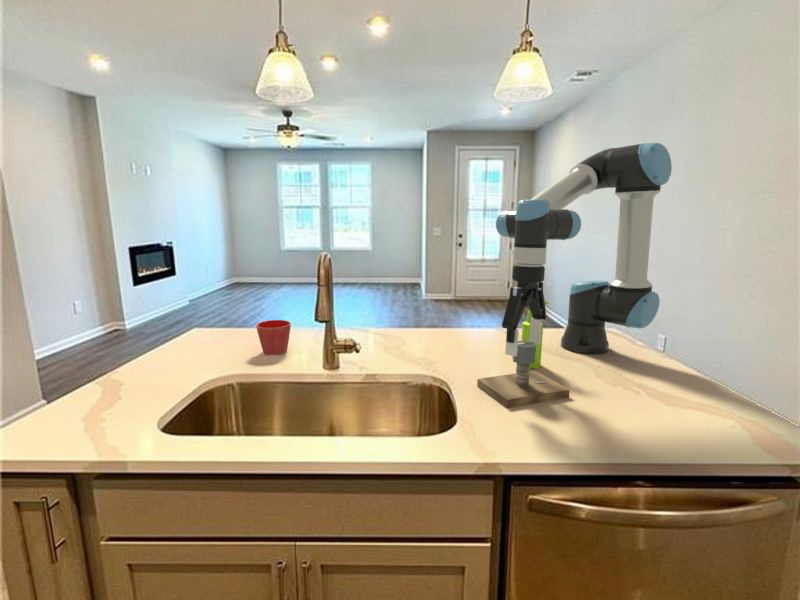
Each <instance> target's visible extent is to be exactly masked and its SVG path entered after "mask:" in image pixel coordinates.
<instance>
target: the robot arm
mask: <svg viewBox="0 0 800 600" xmlns="http://www.w3.org/2000/svg"><path fill="white" fill-rule="evenodd" d="M671 175H672V158H671V154H670V152H669V151H668V149H667V147H666V146H665V145H663V144H662V143H660V142H644V143H639V144H634V145H633V144H632V145H626V146H619V147H612V148H611V147H610V148H607V149H603V150H601V151H598V152H597V153H595V154H592V155H590V156H588V157H587V158H585V159H584V160H582V161H580V162H579V163H577V164H576V165H574V166H573V167H572V168H570V171H569V172H568V174H567V175H565V176H564V177H562V178H560V179H559V180H558V181H556V182H555V183H553V184H552V185H550V186H549V187H547V188H546V189H544V190H543V191H541V192H539V193H538V194H536V195H535V196H533V197H532V198H531V199H522V200H519V201H518V202H517V204H516V208H515V209H513V210H512V209H508V210H503V211H501V212H500V213H499V214H498V215H497V217H496V221H495V228H496V231H497V233H498V234H499V236H501V237H502V238H503V237H504V238H510V239H514V244H513V247H514V248H513V250H512V254H513V263H514V265H513V266H512V273H511V274H512V275H511V278H512V280H513V281H515V282H517V284H516V285H517V286H511V287H510V290H509V297H508V301H507V304H506V308H505V312H504V316H503V318H502V323H501V327H502V328H503V329H506V333H505V334H506V337H505V350H504V351H505V352H504V354H505V355H507V356H512V357H513V356H517V350H518V341H519V329H518V327H519V324H520V322H521V319H522V316H523V313H524V310H525V309H526V308H527V307H528V309H529V310H530V311H531V314H532V317H533V318H531V321H530V336H529V342H533V343H535V344H540V338H541V324H542V323H543V322H542V321H543V320H546V319H547V316H546V315H547V308H546V304H545V301H546V300H545V296H544V281H545V272H546V271H545V270H546V268H545V266H544V265H545V264H546V263H547V262H546V260H547V244H548V243H547V242H548V241H550V240H552V241H556V240H557V241H558V240H561V241H566V240H570V239H573V238H575V237H577V235H578V234H579V232H580V231H581V228H582V220H581V217H580V215H579V213H577V211H574V210H572V209H571V210H570V209H567V208H566V207H567V206H568V205H570V204H571V203H573V202H574V201H576V200H577V199H579V198H580V197H581V196H583V195H588V194H591V193H593V192H594V191H597V190H601V189H609V188H610V189H612V188H613V189H614V188H615V191H614V192H615V193H614V194H615V195H616V196H617V197H618V198H619V199H620V200H619V213H618V214H619V216H618V230H617V231H618V232H617V245H616V246H617V248H616V259H615V260H616V261H615V275H614V276H615V277H614V279H612V280H611V281H610V282H609V281H608V280H584V281H583V280H581V281H576V282H574V283H572V284H571V286H570V291H569V295H568V296H569V299H568V313H567V314H568V315H567V317H568V319H567V325H566V327H565V331H564V333H563V335H562V337H561V338H560V346H561V347H562V348H563V349H565V350H568V351H571V352H574V353H580V354H590V355H591V354H593V355H594V354H595V355H596V354H604V353H607V352H608V351H609V347H610V343H609V340H608V336H607V332H606V327H605V326H606V323H609V324H614V325H617V326H618V325H619V326H623V327H627V328H635V329H644V328H647V327H648V326H649V325H650V324H651V323H652V322H653V321H654V319H655V318H656V316H657V314H658V311H659V308H660V300H661V299H660V296H659V294H658V293H657V292H655V291H653V284H652V282H650V281H649V279H648V273H649V272H648V270H649V259H650V246H651V244H650V243H651V234H652V233H651V232H652V221H653V211H654V210H653V208H654V198H655V197H656V196H657V195H658V194H659V193H660V192H661V189H662V188H661V186H664V185H666V184H667V183H668V182H669V180H670V176H671Z"/></svg>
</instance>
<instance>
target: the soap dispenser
mask: <svg viewBox="0 0 800 600" xmlns="http://www.w3.org/2000/svg"><path fill="white" fill-rule="evenodd" d="M544 301H545V305H548V304H549V302H548V301H546V300H544ZM531 318H533V317H532V314H531V311H530V309H529V310H527V317H526V320H525V321H522V329H521V330H522V331H521V341H528V342H529V336H530V321H531ZM543 334H544V323H543V322H542V324H541V338H540V344H535V345H536V353H535V363H532V364H530V369H536V368H540V367H541V362H542V350H543V349H542V346H543Z"/></svg>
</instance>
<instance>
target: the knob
mask: <svg viewBox="0 0 800 600" xmlns="http://www.w3.org/2000/svg"><path fill="white" fill-rule="evenodd" d="M535 353H536V345H535V343H533V342H528V341H522V340H518V350H517V356H512V362H513V363H516V364H517V363H520V364H532V363H535Z"/></svg>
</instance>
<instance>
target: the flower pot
mask: <svg viewBox="0 0 800 600" xmlns="http://www.w3.org/2000/svg"><path fill="white" fill-rule="evenodd" d="M291 325H292V322H290V321H289V320H285V319H269V320H264V321H261V322H258V323H256V330H257V335H258V338H259V342H260V346H261V348H262V349H261V350H262V353H263V354H265V355H269V356H276V355H282V354H284V353H287V351H288V347H289V342H290V341H289V340H290V334H291Z"/></svg>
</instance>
